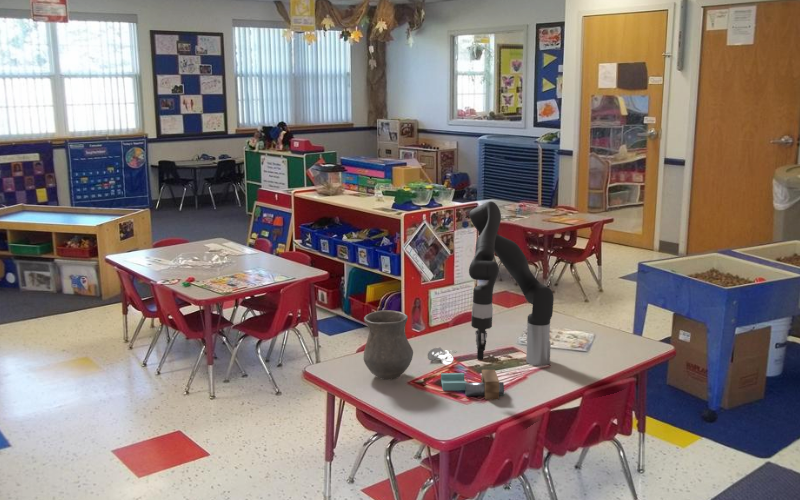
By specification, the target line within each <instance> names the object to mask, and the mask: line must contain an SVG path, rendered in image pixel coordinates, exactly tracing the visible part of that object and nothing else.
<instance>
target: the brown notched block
mask: <svg viewBox="0 0 800 500" xmlns="http://www.w3.org/2000/svg"><path fill="white" fill-rule="evenodd" d="M482 382H485V396H484V400H486V401H487V400H499V399H500V395H499V382H500V380H499V377H498V374H497V372H496V369H481V382H480V383H482Z"/></svg>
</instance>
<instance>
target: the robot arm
mask: <svg viewBox="0 0 800 500" xmlns="http://www.w3.org/2000/svg"><path fill="white" fill-rule="evenodd" d="M468 214H469V219H470V221H471V223H472V225H473V226H474V227H475V229H476V231H478V233H479V235H478V238H477V240H476V242H475V243H476V244H475V248H474V249H475V250H474V252H475V254H474V256H473V259H472V260H471V263H470V264H469V267H468V268H469V269H468V274H469V277H470V278H471V279H472V280H476V281H487V283H485V284H484V283H483V284H480V285H477V286H474V288H473V291H472V292H473V293H472V294H473V295H472V305H471V323H470V324H471V325H470V326H471V327H472V328H473V329H476V330H475V342H476V344H475V345H476V350H477V351H476V352H477V353H476V359H477V360H478V361H483V360H484V357H485V356H484V354H485V353H484V352H485V350H486V345H487V338H488V332H487V330H490V329H491V328H492V327H493V311H494V310H493V308H494V307H493V296H494V288H495V283H496V281H497V278H498V275H499V272H500V271H499V269H500V267H499V265H498V263H497V262H496V261H494V259H495V255H496V256H497V257H498V260H499V261H500V262H501V263H502V265H503V267H505V269H506V270H507V272H508V273H509V274H510V276H511V277H512V278H513V279H514V280H515V282H516V283H517V284H518V287H519V288H520V290H521V292H522V294H523V296H524V297H525V300H527V302H528V303H530V304H531V305H532V307H531V308H532V311H531V313H529V314H528V315H527V325H526V327H527V328H526V335H527V336H526V356H525V357H526V358H525V359H526V360H525V361H526V363H527V364H529V365H532V366H539V367H541V366H546V365H550V364H551V340H550V336H551V335H550V332H551V319H552V317H553V311H554V302H555V301H554V293H553V291H552V289H551V288H550V287H549V286H547V285H545V284H542V283H541V282H540V280H538V279H537V277H535V275H534V274H533V273H532V271H531V269H530V266H529V262H528V259H527V257H526V255H525V253H524V252H523V250H522V249H521V248H520V246H519V244H517V243H516V242H515V241H513V240H511V239H509V238H506V237H504V236H503V235H500V234H498V231H499V228H500V224H501V221H502V212H501V210H500V208H499V206H498V205H497V203H496V202H494V201H487V202H485V203H482V204H480V205H479V206H476V207H474V208H472V209H471V210H470V211H469V213H468Z"/></svg>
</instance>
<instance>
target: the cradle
mask: <svg viewBox="0 0 800 500" xmlns="http://www.w3.org/2000/svg"><path fill="white" fill-rule="evenodd" d="M440 381H441V382H440V383H441V389H442V391H465V383H468V382H467V381H466V380H465V373H464V372H451V373H448V372H444V373H442V372H441V373H440Z"/></svg>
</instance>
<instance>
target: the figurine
mask: <svg viewBox="0 0 800 500" xmlns="http://www.w3.org/2000/svg"><path fill="white" fill-rule="evenodd" d="M451 353H452V354H457V351H456V350H447V349H446V350H443V349H442V348H441V347H432V348H430V349H429V351H428V352H427V359H428V361H431V362H433V361H435V360H440V361H441V364H443V365H445V366H446V365H450V364H452V362H453V361H454V357H453V355H452V354H451Z"/></svg>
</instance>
